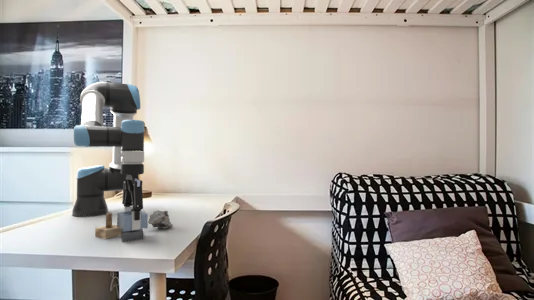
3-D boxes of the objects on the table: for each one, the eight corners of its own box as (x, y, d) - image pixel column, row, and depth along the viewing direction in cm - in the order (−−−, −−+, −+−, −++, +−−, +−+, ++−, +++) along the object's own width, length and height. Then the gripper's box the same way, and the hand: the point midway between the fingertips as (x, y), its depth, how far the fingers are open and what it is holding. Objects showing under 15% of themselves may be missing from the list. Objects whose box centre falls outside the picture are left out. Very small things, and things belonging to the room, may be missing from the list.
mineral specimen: (168, 240, 124) (147, 232, 126) (179, 224, 129) (158, 216, 131) (163, 228, 117) (141, 219, 119) (175, 211, 122) (153, 203, 124)
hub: (120, 237, 110) (120, 215, 110) (140, 234, 114) (141, 213, 114) (122, 242, 105) (122, 218, 105) (143, 239, 108) (143, 216, 108)
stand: (95, 236, 111) (95, 214, 111) (111, 232, 117) (111, 211, 117) (105, 238, 108) (105, 216, 108) (122, 234, 114) (122, 213, 114)
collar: (117, 226, 110) (117, 212, 110) (140, 223, 115) (140, 209, 115) (123, 231, 104) (123, 216, 103) (147, 227, 109) (147, 213, 109)
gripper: (113, 162, 115) (112, 223, 115) (130, 164, 99) (130, 234, 99) (134, 162, 120) (133, 220, 120) (153, 164, 104) (153, 231, 104)
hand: (132, 226), depth 109 cm, fingers closed on collar, 8 cm apart
